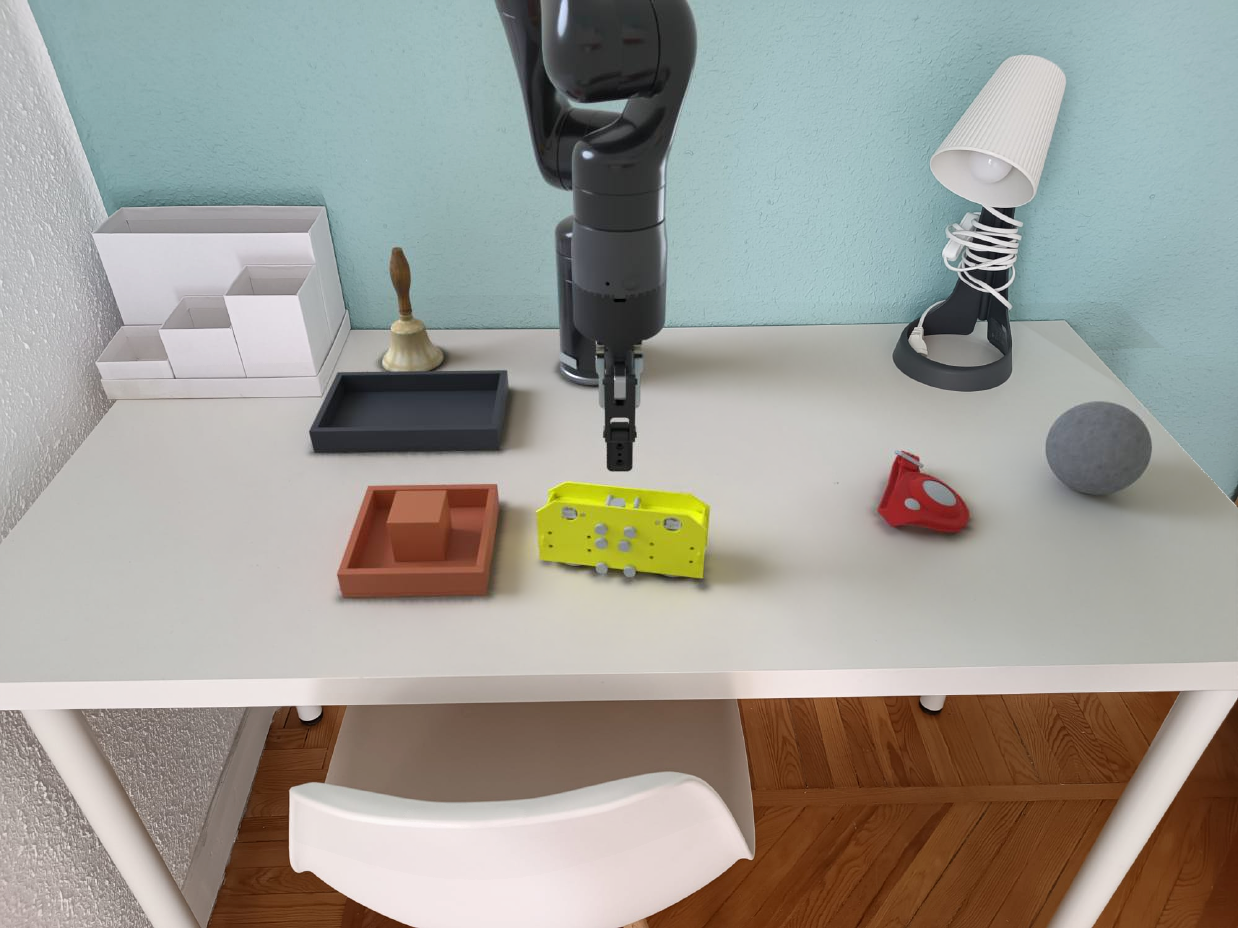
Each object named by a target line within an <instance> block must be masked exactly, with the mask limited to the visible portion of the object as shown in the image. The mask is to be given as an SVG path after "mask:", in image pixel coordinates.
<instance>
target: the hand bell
mask: <svg viewBox="0 0 1238 928" xmlns="http://www.w3.org/2000/svg"><path fill="white" fill-rule="evenodd" d="M388 267H389V276H390V279H391V284H392V286H393V288H394V290H395V292H396V296H397V305H398V313H399V315H398V317H399V319H397V320H396V321H394V322H392V324H391V326H390V336H391V337H390V345H389V348H388V351H386V352H385V353H384V355H383V356H382V359H381V361H382V362H381V365H382V367H383V368H384V369H385V370H386V371H387V372H396V371H433V370H434V369H436V368H437V367H438V366H440V365H441V364H442V362H443V361H444V357H445V356H444V355H445V354H444V353H443V350H441V349H440V348H439V347H438V346H437V345H435V344H434V343H433V342H432V341H431V339H430V336H429V335H428V331H427V329H426V325H425V323H424V321H423V320H421V319H420V318H417V317H414V316H413V308H412V303H411V302H412V301H411V298H410V289H411V284H412V283H411V282H412V276H411V268H410V264H409V261H408V259H407V257H406V256H405V253H404V251H403V248H402V247H400V246H395V247H392V248H391V255H390V260H389V265H388Z"/></svg>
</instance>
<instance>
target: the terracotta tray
mask: <svg viewBox="0 0 1238 928" xmlns="http://www.w3.org/2000/svg"><path fill="white" fill-rule="evenodd" d="M434 490H446V491H447V497H448V504H449V510H450V517H451V523H452V532H451V537H450V541H449V546H448V550H447V555H446V560H445V561H408V562H395V561H394V556H393V551H392V547H391V542H390V537H389V532H388V527H387V520H388V517H389V514H390V510H391V507H392V504H393V501H394V498H395V494H396V491H434ZM500 505H501V504H500V497H499V489H498V484H497V483H473V484H471V483H469V484H467V483H466V484H465V483H463V484H400V485H399V484H396V485H395V484H393V485H386V484H385V485H367V488H366V491H365V494H364V496H363V499H362V502H361V504H360V506H359V507H360V508H359V511H358V513H357V516H356V519H355V522H354V525H353V527H352V531H351V533H350V535H349V539H348V542H347V545H346V547H345V549H344V553H343V556H342V559H341V562H340V564H339V567H338V570H337V573H336V578H337V581H338V584H339V588H340V589H339V590H340V592H341V596H342V598H394V597H395V598H396V597H399V598H402V597H453V596H454V597H459V596H460V597H461V596H462V597H464V596H465V597H467V596H487V593H488V587H489V582H490V581H489V580H490V574H491V566H492V560H493V553H494V546H495V541H496V533H497V527H498V526H497V525H498V519H499V513H500Z"/></svg>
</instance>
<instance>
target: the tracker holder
mask: <svg viewBox="0 0 1238 928" xmlns="http://www.w3.org/2000/svg"><path fill="white" fill-rule="evenodd" d="M894 454H895V455H896V457H895V459H894V461H893V462H892V465H891V469H890V474H889V477H888V481H887V484H886V487H885V490H884V492H883V495H882V497H881V500H880V503H879V505H878V507H877V510H876V511H877V513H878V514H879V515H880V516H881V517H882V519H884V521H885V522H886V523H887V524H888V525H889V526H890V527H892V528H893V527H898V526H902V525H907V526H917V527H918V526H919V527H924V528H927V529H930V530H934V531H938V532H945V533H953V534H954V533H959V532H961V531H963V529H965V527H966V526H967V524H968V522H969V520H970V511H969V508H968V505H967V504H966V502H965V501H964V500H963V498H962V497H961V495H960V494H959V493H958V492H957V491H956V490H955V489H953V488H952V487H950V486H949V485H948V484H947V483H945V482H944V481H943V480H940V479H939V478H937V477H934V476H932V475H930V474H927V473H925V472H921V469H923V468H924V464H923V463H921V459H920V456H918V455H915V454H913V453H912V452H910V451H904V450H897V449H895V450H894ZM920 468H921V469H920Z"/></svg>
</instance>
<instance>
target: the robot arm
mask: <svg viewBox="0 0 1238 928" xmlns="http://www.w3.org/2000/svg"><path fill="white" fill-rule="evenodd" d="M493 2H494V5H495V8H496V10H497V13H498V16H499V19H500V21H501V25H502V28H503V30H504V34H505V37H506V40H507V44H508V47H509V51H510V53H511V58H512V61H513V65H514V68H515V71H516V72H515V73H516V76H517V78H518V83H519V87H520V92H521V95H522V96H521V97H522V100H523V106H524V111H525V115H526V120H527V125H528V130H529V135H530V141H531V146H532V149H533V150H532V151H533V155H534V158H535V162H536V166H537V169H538V171H539V174H540V175H541V177H542V179H543V181H544V182H545V183H546V184H547V185H548V186H550V187H551V188H553V189H557V190H560V191H565V192H571V193H572V211H573V212H572V214H571V215H568V216H566V217H564V218H562V219H561V220H560V221H559V222H558V223H557V224H556V226H555V228H554V249H555V267H556V268H555V269H556V270H555V271H556V288H557V306H558V307H557V311H558V327H559V369H560V373H561V375H562V376H563V377H564V378H565V379H567V380H569V381H570V382H572V383H575V384H579V385H584V386H598V405H599V407H600V408H601V409H603V410H604V425H603V427H602V429H603V432H602V439H604V443H606V469H607V470H608V471H609V472H612V473H613V472H616V473H617V472H621V473H622V472H624V473H625V472H630V471H632V470H633V468H634V467H633V466H634V465H633V462H634V457H633V456H634V443H636V439H638V432H637V425H636V409H638V408H639V407H640V405H641V375H642V373H643V371H644V352H643V341H647V340H649V339H652V338H653V337H655V336H657V335H658V334H659V333H660V332H661V331H662V330H663V328H664V327H665V324H666V308H667V307H666V305H667V282H668V281H667V279H668V278H667V277H668V251H669V249H668V234H667V233H668V232H667V225H666V223H667V222H666V211H667V209H666V208H667V184H668V183H667V181H668V180H667V176H668V172H667V171H668V163H669V158H670V154H671V151H672V148H673V145H674V142H675V141H674V140H675V136H676V133H677V129H678V127H679V126H678V125H679V122H680V118H681V116H682V111H683V107H684V105H685V102H686V98H687V96H688V92H689V89H690V86H691V82H692V79H693V74H694V70H695V67H696V61H697V54H698V30H697V24H696V20H695V16H694V13H693V10H692V8H691V5H690V3H689V2H688V0H493ZM623 100H627V101H626V103H625V105H624V107H623V110H622V112H619V111H611V110H601V109H590V108H583V107H576V106H575V107H574V106H573V105H572V104H571V103H570V101H571V102H572V103H573V102H574V103H577V104H585V105H586V104H597V103H604V102H605V103H606V102H613V101H623ZM612 419H628V421H612Z"/></svg>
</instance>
